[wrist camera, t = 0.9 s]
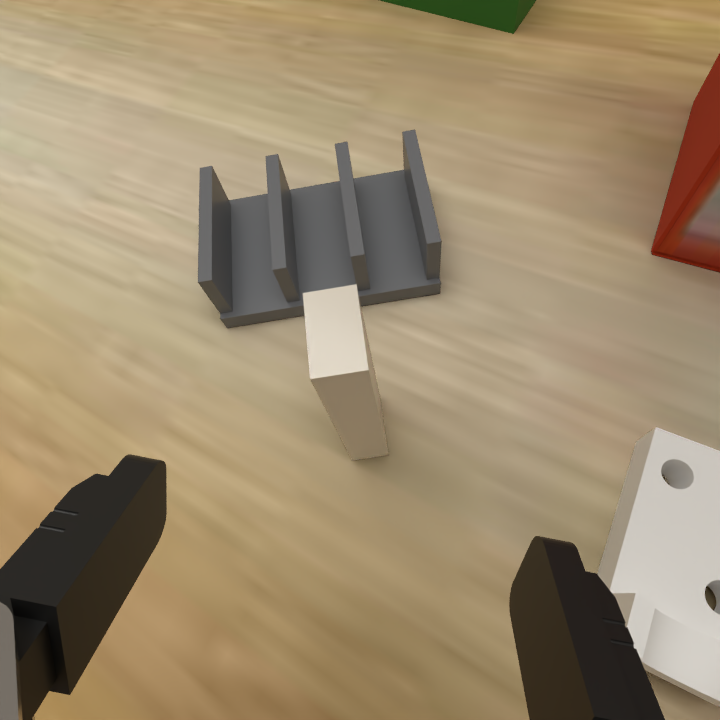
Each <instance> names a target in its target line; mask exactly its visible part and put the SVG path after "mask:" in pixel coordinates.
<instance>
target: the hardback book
mask: <svg viewBox="0 0 720 720" xmlns="http://www.w3.org/2000/svg"><path fill="white" fill-rule="evenodd" d="M380 1H384V2H388V3H392V4H396V5H400V6H404V7H408V8H412V9H416V10H420V11H424V12H428V13H432V14H436V15H440V16H444V17H448V18H452V19H456V20H460V21H464V22H468V23H472V24H476V25H480V26H484V27H488V28H492V29H496V30H500V31H504V32H508V33H512V34H514V32H515V31H516V29H517V28H518V26H519V25H520V24H521V22H522V21H523V19H524V18H525V16H526V15H527V13H528V12H529V10H530V9H531V7H532V6H533V4H534V3H535V1H536V0H380Z"/></svg>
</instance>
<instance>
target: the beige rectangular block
mask: <svg viewBox="0 0 720 720" xmlns="http://www.w3.org/2000/svg"><path fill="white" fill-rule="evenodd" d="M303 302H304V314H305V325H306V337H307V348H308V360H309V371H310V380H311V382H312V384H313V386H314V387H315V389H316V391H317V393H318V395H319V397H320V399H321V401H322V403H323V405H324V407H325V409H326V411H327V413H328V415H329V417H330V419H331V420H332V422H333V424H334V426H335V428H336V430H337V432H338V434H339V436H340V438H341V440H342V442H343V444H344V446H345V448H346V450H347V452H348V454H349V455H350V457H351V459H352V461H353V460H360V459H366V458H373V457H380V456H387V455H389V453H388V446H387V440H386V433H385V426H384V420H383V413H382V406H381V399H380V393H379V389H378V384H377V379H376V375H375V370H374V365H373V360H372V356H371V351H370V346H369V341H368V337H367V332H366V327H365V322H364V318H363V313H362V308H361V303H360V299H359V294H358V289H357V284H355V285H349V286H343V287H337V288H331V289H325V290H318V291H312V292H306V293H303Z"/></svg>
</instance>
